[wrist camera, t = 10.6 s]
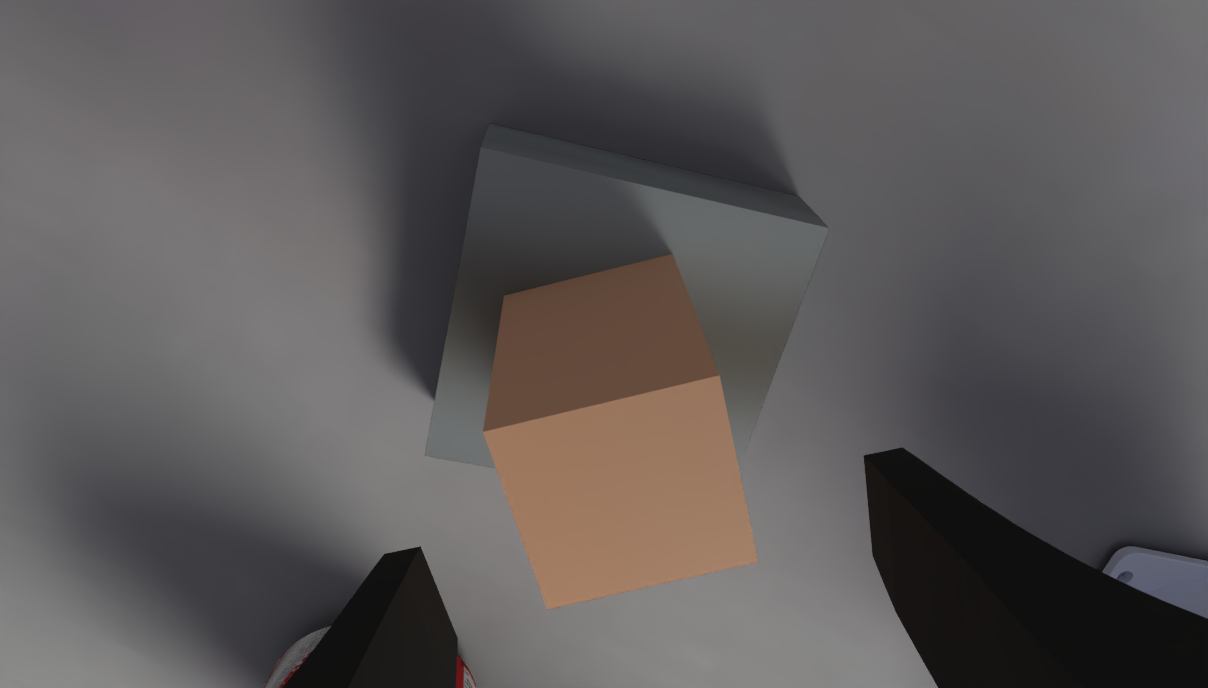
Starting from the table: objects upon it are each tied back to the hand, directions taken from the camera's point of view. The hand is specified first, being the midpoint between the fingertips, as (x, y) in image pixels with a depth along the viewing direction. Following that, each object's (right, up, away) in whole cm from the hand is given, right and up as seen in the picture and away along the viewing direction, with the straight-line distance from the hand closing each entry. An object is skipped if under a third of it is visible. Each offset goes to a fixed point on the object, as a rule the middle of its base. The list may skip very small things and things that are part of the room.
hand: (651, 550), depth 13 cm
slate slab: (-1, +5, +9) cm, 10 cm away
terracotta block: (-1, +3, +7) cm, 7 cm away
